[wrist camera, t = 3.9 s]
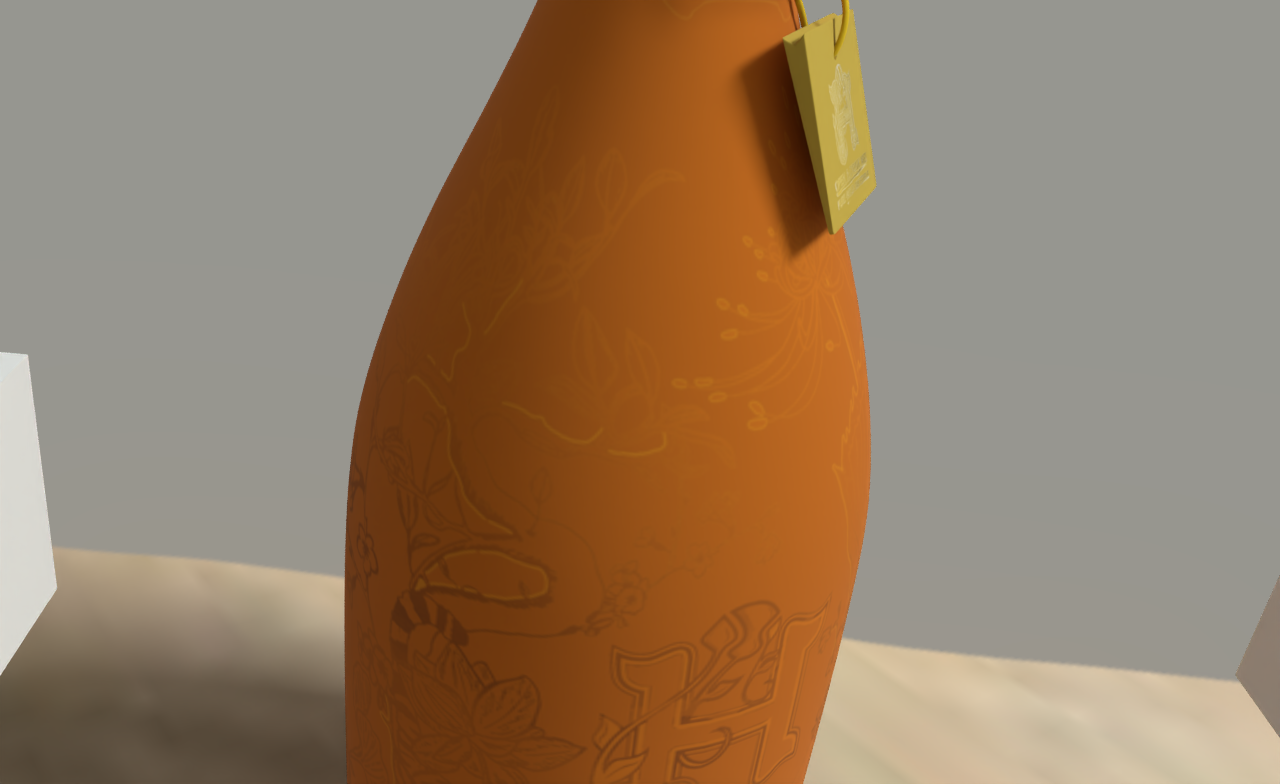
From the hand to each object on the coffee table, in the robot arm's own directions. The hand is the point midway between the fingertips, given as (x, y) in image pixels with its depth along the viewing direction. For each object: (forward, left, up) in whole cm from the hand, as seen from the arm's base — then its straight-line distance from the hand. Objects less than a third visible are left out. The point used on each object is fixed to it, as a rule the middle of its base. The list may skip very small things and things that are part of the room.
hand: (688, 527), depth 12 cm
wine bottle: (-5, +8, -16) cm, 19 cm away
